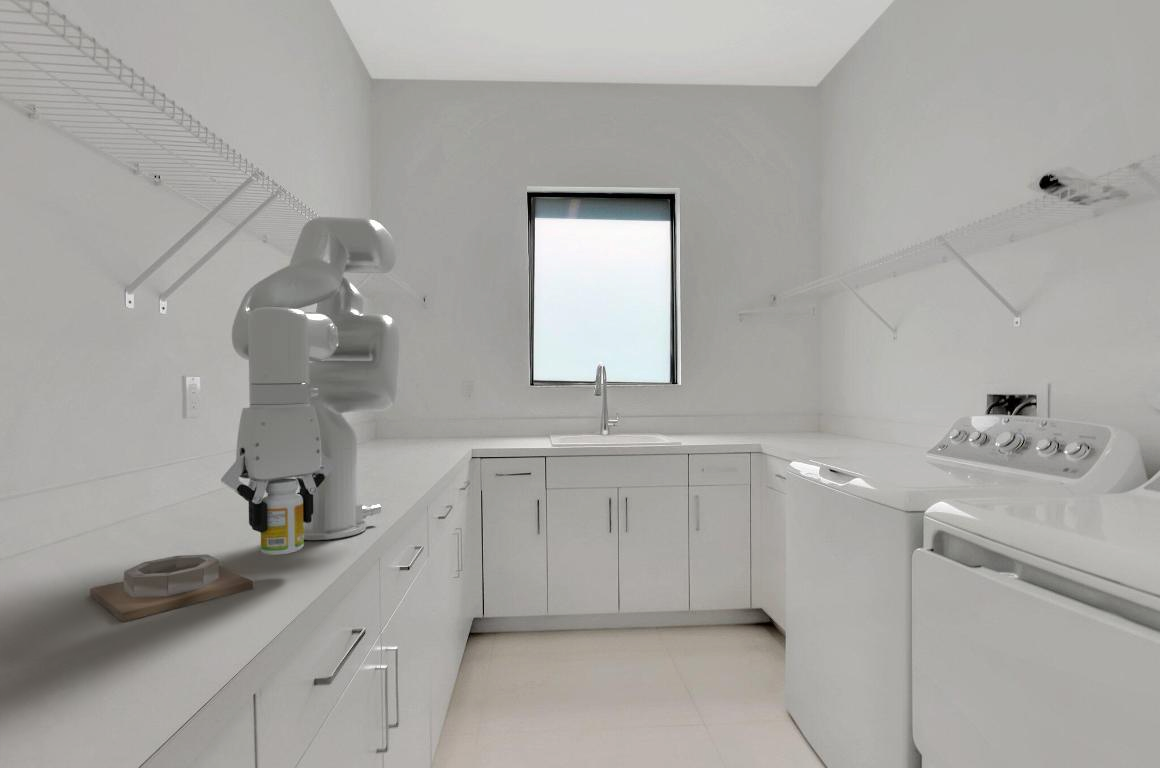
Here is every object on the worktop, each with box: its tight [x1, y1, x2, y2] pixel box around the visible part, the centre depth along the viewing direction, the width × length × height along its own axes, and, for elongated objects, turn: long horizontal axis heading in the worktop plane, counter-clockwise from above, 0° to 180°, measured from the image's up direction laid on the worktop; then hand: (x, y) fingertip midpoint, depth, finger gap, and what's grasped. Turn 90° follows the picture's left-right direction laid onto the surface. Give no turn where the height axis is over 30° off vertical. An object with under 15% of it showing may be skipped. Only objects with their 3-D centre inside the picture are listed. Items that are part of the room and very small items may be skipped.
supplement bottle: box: [260, 477, 305, 556], centre depth 82 cm, size 5×5×10 cm
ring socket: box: [89, 554, 254, 623], centre depth 76 cm, size 14×14×4 cm
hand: (282, 524), depth 82 cm, fingers closed on supplement bottle, 5 cm apart
